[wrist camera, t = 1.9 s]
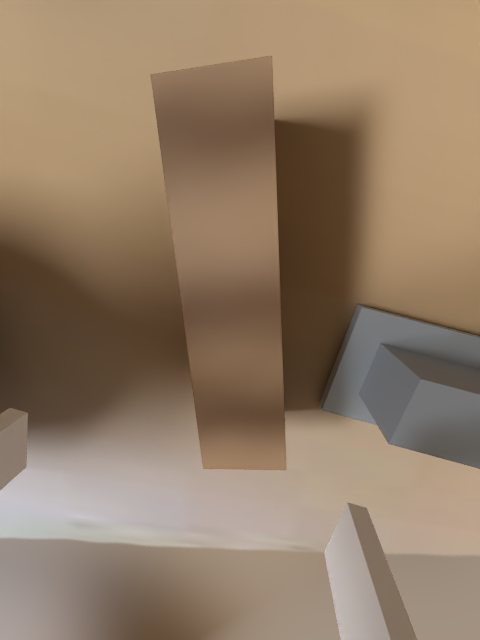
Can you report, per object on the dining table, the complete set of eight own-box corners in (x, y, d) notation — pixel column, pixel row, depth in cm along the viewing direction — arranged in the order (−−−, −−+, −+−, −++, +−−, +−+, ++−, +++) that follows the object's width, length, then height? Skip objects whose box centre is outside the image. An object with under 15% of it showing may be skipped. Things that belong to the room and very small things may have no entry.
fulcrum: (357, 303, 19) (397, 331, 13) (561, 357, 18) (696, 409, 12) (319, 402, 21) (339, 462, 15) (500, 451, 21) (590, 532, 15)
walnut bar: (190, 131, 17) (150, 74, 11) (270, 121, 16) (272, 55, 11) (220, 410, 22) (203, 468, 17) (281, 410, 22) (286, 470, 16)
